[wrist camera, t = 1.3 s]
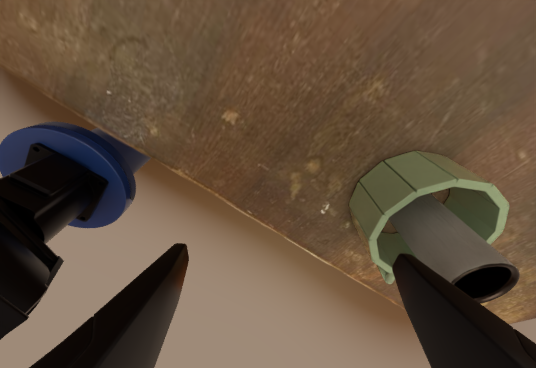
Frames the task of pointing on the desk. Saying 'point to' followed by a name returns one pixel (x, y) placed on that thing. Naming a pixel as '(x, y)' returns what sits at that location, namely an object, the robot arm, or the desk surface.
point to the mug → (412, 186)
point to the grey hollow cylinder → (454, 249)
